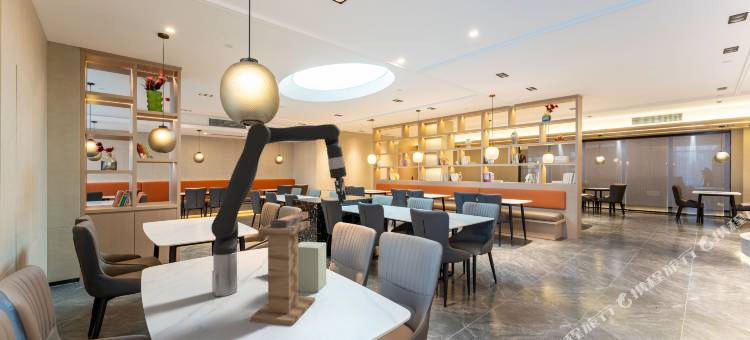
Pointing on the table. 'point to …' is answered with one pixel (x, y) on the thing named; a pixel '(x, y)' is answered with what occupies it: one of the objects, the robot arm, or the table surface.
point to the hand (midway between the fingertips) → (342, 201)
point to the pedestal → (311, 266)
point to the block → (303, 214)
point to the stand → (283, 274)
